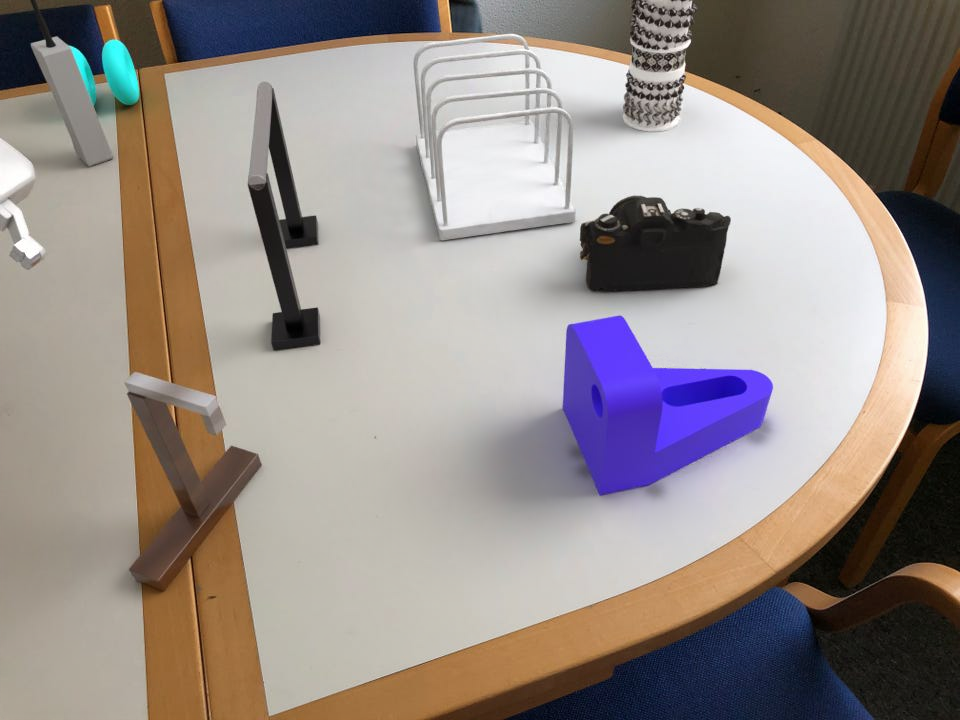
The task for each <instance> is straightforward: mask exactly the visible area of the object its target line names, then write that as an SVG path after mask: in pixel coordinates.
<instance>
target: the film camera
mask: <svg viewBox="0 0 960 720" xmlns="http://www.w3.org/2000/svg"><path fill="white" fill-rule="evenodd" d="M731 220H732V219H731V216H729V215H722V213H720V212H717V211H716V212H715V211H709V212H708V213H707V214H706V210H705V209H704V208H701V207H696V208H693V209H690V208H678V209H675V210H674V211H673V213H672V212H671V209H669V208H668V206H667V203H666V201H664V198H661V197H657V196H655V197H654V196H653V197H652V196H650V197H646V196H644V195H630V196H627V197H624V198H622V199H621V200H619V201H617V202H616V203H615V204H614V205H613V206H612V207H611V209H610V211H609V212H608V213H602V214H600V215H599V216H598V217H597V218H596V219H594V220H589V221H586V222H583V223H581V225H580V228H579V242H580V247H581V251H580V253H579V258H580V261H583V260H584V261H586V273H585V281H586V285H587V286H586V287H587V288H588V289H589V290H592V291H595V292H596V291H600V289H601V288H602V289H604V290H605V291H608V292H615V291H617V292H623V291H637V290H643V291H644V290H661V289H665V290H666V289H676V288H697V287H698V288H699V287H700V288H701V287H709V286H713V285H717V284H718V283H719V280H720V275H721V270H722V265H723V260H724V255H725V249H726V245H727V240H728V239H727V237H728V231H729V228H730V225H731V222H732V221H731Z"/></svg>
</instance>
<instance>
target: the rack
mask: <svg viewBox="0 0 960 720" xmlns="http://www.w3.org/2000/svg"><path fill="white" fill-rule="evenodd" d="M254 111H255V112H254V122H253V132H252V140H251V149H250V150H251V151H250V158H249V160H250V161H249V171H248V177H247V189H248V192H249V196H250V199H251V204H252V206H253V207H252V208H253V210H254V214H255V218H256V222H257V225H258V229H259V234H260V236H261V237H260V238H261V240H262V244H263V247H264V252H265V255H266V259H267V263H268V266H269V270H270V274H271V278H272V281H273V285H274V289H275V293H276V296H277V300H278V304H279V308H280V311H279V312H273V313H272V314H271V315H272V316H271V317H272V318H271V335H270V336H271V338H270V344H271V347H272V350H273V351H280V350H289V349H295V348H302V347H311V346H317V345H321V316H320V310H319V307H309V308H302V307H301V303H300V299H299V294H298V290H297V287H296V282H295V279H294V275H293V270H292V266H291V263H290V262H291V261H290V258H289V255H288V249H292V248H300V247H309V246H317V245H319V222H318V218H317V215H307V216H303V214H302V210H301V205H300V201H299V196H298V192H297V187H296V182H295V179H294V174H293V168H292V166H291V161H290V156H289V150H288V147H287V143H286V138H285V133H284V129H283V124H282V120H281V115H280V111H279V107H278V102H277V97H276V93H275V89H274V88H273V86H272V84H271V83H270V82H268V81H262V82H259V84H258V85H257V90H256V103H255V110H254ZM269 155H270V157H271V162H272V167H273V172H274V176H275V179H276V184H277V187H278V193H279V196H280V200H281V205H282V208H283V213H284V217H285V218H283V219H280V217H279V214H278V210H277V206H276V202H275V197H274V193H273V188H272V184H271V181H270V177H269V174H268V164H269Z"/></svg>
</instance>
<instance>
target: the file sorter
mask: <svg viewBox="0 0 960 720" xmlns="http://www.w3.org/2000/svg"><path fill="white" fill-rule="evenodd" d="M505 40H515V41H518V42H520V43H521V44H522V45H523V47H524V48H519V49H508V50H497V51H485V52H476V53H467V54H458V55H457V54H456V55H445V56H439V57H438V56H437V57H435V58H432V59H430V60H429V61H428V62H426V64H425V65H424V67H423V68H422V70H421V73H420V76H419V66H418V64H419V59H420V57H421V55H422V54H423V53H424V52H425V51H428V50H430V49H435V48H443V47H453V46H459V45H461V46H462V45H470V44H477V43H478V44H480V43H487V42H496V41H505ZM521 55H522V56H525V57H524V59H525V62H524V63H525V65H524V67H525V68H513V69H502V70H500V69H499V70H490V71H479V72H477V71H476V72H467V73H466V72H465V73H457V74H447V75H446V74H445V75H442V76H440V77H438V78H435V80H433V81H432V82H431V83H430V85H429V86H428V88H427V91H426V76H427V73H428V71H429V70H430V69H431V68H432V67H433V66H435V65H438V64H441V63H442V64H443V63H451V62H459V61H467V60H468V61H470V60H471V61H472V60H479V59H489V58H499V57H500V58H501V57H509V56H510V57H511V56H521ZM530 58H532V59H533V61H534V63H535V66H536V67H530ZM412 62H413V73H414V76H413V77H414V83H415V85H414V86H415V94H416V103H417V114H418V122H419V134H417V135H415V142H416V143H415V144H416V148H417V152H418V156H419V159H420V160H419V161H420V165H421V168H422V171H423V176H424V179H425V185H426V188H427V192H428V195H429V196H428V197H429V200H430V205H431V209H432V213H433V218H434V221H435V225H436V229H437V233H438V234H437V235H438V238H439V240H440V241H446V240H454V239H455V240H456V239H461V238H462V239H463V238H467V237H476V236H482V235H489V234H490V235H491V234H496V233H503V232H512V231H517V230H524V229H531V228H540V227H545V226H547V227H548V226H554V225H561V224H569V223H574V222H576V221H577V219H576V217H577V216H576V215H577V214H576V213H577V212H576V211H577V210H576V208H575V206H574V204H573V202H572V200H571V189H572V188H571V187H572V171H573V170H572V169H573V152H574V151H573V149H574V121H573V118H572V117H571V115H570V114H569V112H567V111H566V110H565V109H563V101H562V99H561V96H560V95H559V94H558V93H557V92H556V91H555V90H553V86H552V85H553V84H552V81H551V78H550V77H549V75H548V74H547V72H546V71H544V70H543V69H542V68H541V61H540V59H539V57H538V56H537V54H535V52H533V51H532V50H530V48H529V45H528V43H527V41H526V39H525V38H523V37H522V36H521V35H519V34H516V33H505V34H504V33H503V34H496V35H486V36H478V37H469V38H458V39H452V40H451V39H450V40H443V41H433V42H428V43H426V44H423V45H422V46H421V47H420V48H418V49H417V51H416V52H415V54H414V57H413V61H412ZM530 74H533V75H534V74H535V77H536V81H535V83H536V84H535V87H531V88H530ZM519 75H525V78H524V79H525V83H524V84H525V86H524V87H525V88H520V89H511V90H509V89H508V90H500V91H498V90H497V91H490V92H489V91H488V92H477V93H468V94H456V95H450V96H447V97H444V98H442V99H441V100H440V101H439V102H437V104H436V105H434V107H433V110H432V95H433V92H434V90H435V88H436V87H438V85H440V84H443V83H445V82H452V81H465V80H472V79H473V80H475V79H485V78H494V77H495V78H496V77H509V76H519ZM419 77H420V78H419ZM541 78H543V79H544V80H545V82H546V87H541V85H542V84H541V81H542V80H541ZM541 94H546V107H541ZM530 95H535V103H534V107H535V108H532V109H530ZM517 96H525V100H524V101H525V103H524V104H525V105H524V106H525V109H523V110H515V111H506V112H498V113H489V114H480V115H472V116H465V117H458V118H454V119H451V120H449V121H447V122H446V123H445V124H443V126H442V127H441V128H440V129H439V131H437V115H438V113H439V111H440V110H441V108H443V107H444V106H445V105H447V104H449V103H453V102H465V101H475V100H476V101H477V100H485V99H496V98H506V97H507V98H508V97H517ZM553 98H554V99H555V100H556V103H557V106H552V99H553ZM540 107H541V108H540ZM552 114H557V119H556V120H557V121H556V138H555V139H556V141H555V142H556V143H555V157H554V163H553V160H552V157H551V156H550V154H549V152H550V133H551V120H552V119H551V116H552ZM540 115H545V129H544V131H545V132H544V142H543V140H542V138H541V135H540ZM530 116H534V122H533V121H532V120H530ZM520 117H525V118H524V119H525V120H522V121H515V122H507V123H499V124H498V123H497V124H491V125H483V126H482V125H481V126H474V127H467V128H458V129H452V128H453V127H455V126H458V125H463V124H473V123H480V122H488V121H496V120H504V119H505V120H506V119H513V118H520ZM563 117H564V118H565V119H566V121H567V127H568V128H567V131H568V132H567V155H566V173H565V174H566V175H565V176H566V177H565V185H564V183H563V181H562V179H561V177H560V164H561V163H560V162H561V145H562V129H563Z"/></svg>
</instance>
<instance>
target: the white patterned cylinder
mask: <svg viewBox="0 0 960 720" xmlns="http://www.w3.org/2000/svg"><path fill="white" fill-rule="evenodd" d="M630 9H631V13H632V15H631V17H630V18H631V19H630V21H629V22H630V25H631V26H630V29H629V32H628V33H629V35H630V37H629V41H630V44H631V46H632V49H631V50H632V51H631V58H630V59H629V67H628V70H627V72H626V74H625V76H626V80H627V81H626V83H625V84H624V86H625V90H626V92H625V94H623V99H624V103H623V106H622V108H623V114H622V120H623V123H625V124H626V125H627V126H628V127H630V128H632V129H635V130H638V131H643V132H650V133H651V132H652V133H654V132H655V133H656V132H657V133H659V132H664V131H669V130H671V129H673V128H675V127H677V125H678V124H679V122H680V115H681V113H680V112H681V111H682V107H681V106H682V102H683V101H684V98H683V96H682V94H683V93H684V90H685V85H684V83H685V80H686V78H687V75H686V74H685V71H686V70H685V69H686V54H687V48H688V47H689V46H690V45H691V42H692V40H691V39H692V37H693V32H692V31H691V30H690V29H689V28H690V27H692V26H694V25H695V23H696V21H697V20H696V18H695V17H694V16H693V15H694V14H696V13H697V11H698V6H697V5H696V4H694V2H693V0H632V2H631V3H630Z"/></svg>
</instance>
